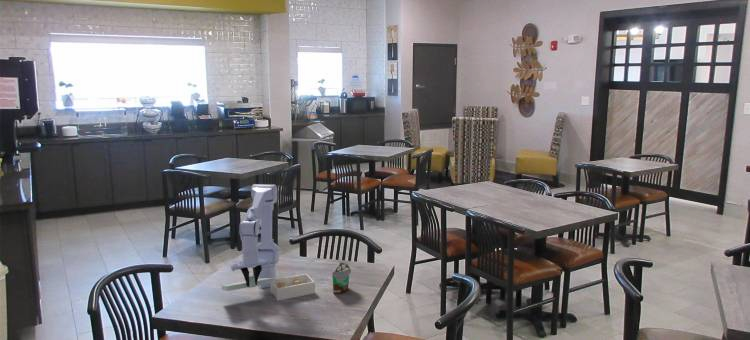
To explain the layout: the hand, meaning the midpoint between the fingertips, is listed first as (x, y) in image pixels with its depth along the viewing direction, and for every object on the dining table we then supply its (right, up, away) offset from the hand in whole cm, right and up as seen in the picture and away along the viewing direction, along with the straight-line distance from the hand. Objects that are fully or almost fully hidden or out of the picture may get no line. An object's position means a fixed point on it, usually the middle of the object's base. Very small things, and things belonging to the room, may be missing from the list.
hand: (251, 285), depth 205 cm
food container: (+34, -7, +20) cm, 40 cm away
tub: (+13, -7, +17) cm, 23 cm away
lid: (-2, -2, +5) cm, 6 cm away
